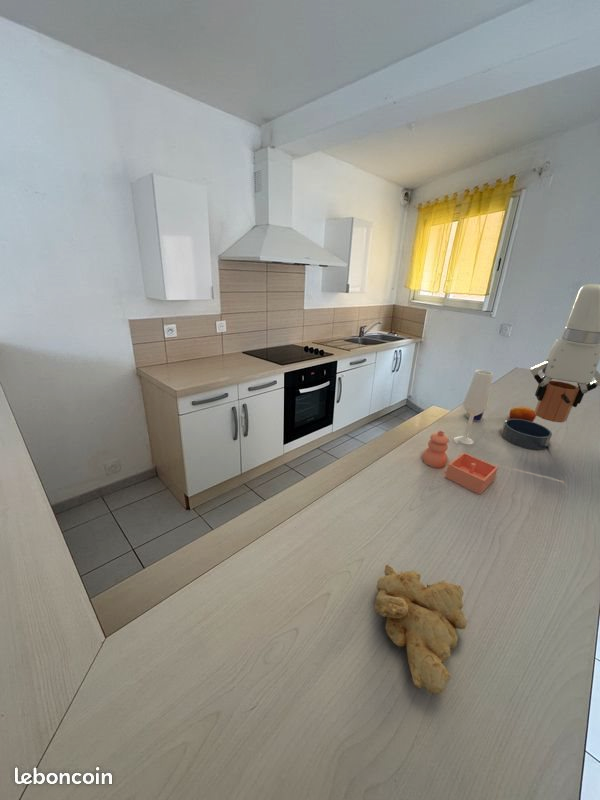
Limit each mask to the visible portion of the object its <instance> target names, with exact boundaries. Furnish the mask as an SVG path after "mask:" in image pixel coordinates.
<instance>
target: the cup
mask: <svg viewBox="0 0 600 800" xmlns="http://www.w3.org/2000/svg"><path fill="white" fill-rule="evenodd" d="M545 387H546V391H545V393H544V396H543V399H542V401H538V400H537V404H536V407H535V409H534V411H535V412H534V413H535V415H536V417H538V418H540V419H543V420H546V421H549V422H553V423H561V424H562V423H565V422H567V421H568V417H569V415H570V414H571V410H572V408H573V404H574V401H575V399H576V396H577V394H578V392H579V388H578V385H574V384H572V383H570V382H566V381H561V380H551V381H550V382H548V383H547V384H546V386H545Z"/></svg>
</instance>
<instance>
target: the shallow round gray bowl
mask: <svg viewBox="0 0 600 800" xmlns="http://www.w3.org/2000/svg"><path fill="white" fill-rule="evenodd" d="M500 435H501V437H502V439H504V440H505V441H506V442H508V443H510V444H511V445H514V446H517V447H519V448H523V449H527V450H534V451H543V450H546V449H547V448H548V445H549V444H550V441H551V439H552V436H553V433H552V431H551V430H550V429H549V428H547V427H546V426H544V425H542V424H540V423H537V422H534V421H533V422H531V421H527V420H522V419H510V418H509V419H506V420H505V421H504V422H503V425H502V428H501V432H500Z"/></svg>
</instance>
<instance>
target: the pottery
mask: <svg viewBox="0 0 600 800" xmlns="http://www.w3.org/2000/svg"><path fill="white" fill-rule="evenodd" d="M449 441H450V439H449V437H448V436H447V435H445V431H442V430H437V432H434V433H432V434H431V435H430V439H429V440H428V442H427V448H425V449H424V451H423V452H422V460H423V462H424V464H426V465H428V466H429V467H432V468H438V469H439V468H444V467H445V465H446V463H448V455H447V452H446V451H447V450H448V448H449V445H448V443H449ZM498 470H499V467H498V466H497V465H494V464H492V463H489V462H488V461H485V460H482V459H481V458H477V457H476V456H473V455H471V454H469V453H466V452H462V453H461V454H460V455H459V456H457V457H456V458H454V459H453V460H452V461H450V462H449V463H448V465H447V469H446V472H445V476H444V478H446V479H447V480H450V481H451V482H453V483H456V484H458V485H460V486H462V487H463V488H465V489H467V490H469V491H472V492H474V493H475V494H477V495H481V494H482V493H484V491H485V490H486V489H487V488H488V487H489V486H490V485H491V484H492V483H493V482H494V481H495V479H496V475H497V472H498Z"/></svg>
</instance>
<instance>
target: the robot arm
mask: <svg viewBox="0 0 600 800" xmlns="http://www.w3.org/2000/svg"><path fill="white" fill-rule="evenodd" d="M599 362H600V284H599V283H588V284H584V285H583V286H581V288H580V289H579V290H578V293H577V295H576V297H575V301H574V303H573V305H572V309H571V311H570V314H569V317H568V319H567V322H566V325H565V328H564V330H563V333H562V335H561V338H557V339H555V341H554V343H553V345H552V346H551V349H550V350H549V352H548V354H547V357H546V358H545V361H544V362H541V363H540V364H537V365H535V366H531V367H530V368H529V372H530V374H531V375H532V377H533V378H534V379H535V381H536V382H537V384H538V385H537V387H536V389H535V392H534V396H535V397H536V399H537V402H538V401H542V399H543V396H544V393H545V391H546V387H545V386H546V384H547V383H548V382H550V381H553V380H555V381H562V382H568V383H576V384H577V385H576V386H577V387H578V388H579V392H578V394H577V396H576V399H575V401H574V404H573V406H572V408H577V407H578V404H581V402H582V400H583V399H584V395H585V394H587V393H588V392H591V391H592V390H595V389H596V388H598V387H600V373H599V371H598V370H597V369H598V365H599ZM540 371H541V373H543V374H544V375H543V376H541V375H540V374H539V372H540ZM594 378H595V380H593V379H594Z"/></svg>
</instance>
